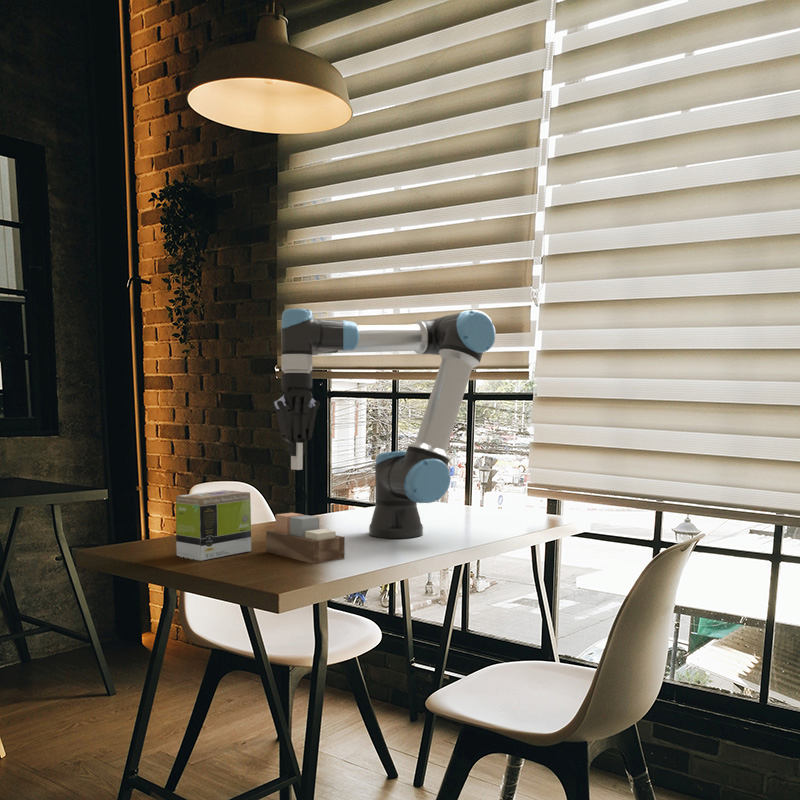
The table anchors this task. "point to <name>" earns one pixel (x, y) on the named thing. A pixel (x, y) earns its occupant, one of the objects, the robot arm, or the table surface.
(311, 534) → the cream block
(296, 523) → the blue-grey block
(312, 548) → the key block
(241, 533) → the tea box
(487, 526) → the table surface
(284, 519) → the salmon pink block
